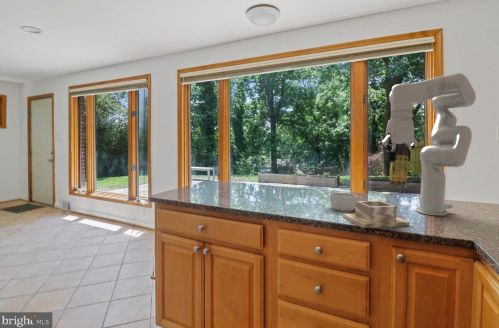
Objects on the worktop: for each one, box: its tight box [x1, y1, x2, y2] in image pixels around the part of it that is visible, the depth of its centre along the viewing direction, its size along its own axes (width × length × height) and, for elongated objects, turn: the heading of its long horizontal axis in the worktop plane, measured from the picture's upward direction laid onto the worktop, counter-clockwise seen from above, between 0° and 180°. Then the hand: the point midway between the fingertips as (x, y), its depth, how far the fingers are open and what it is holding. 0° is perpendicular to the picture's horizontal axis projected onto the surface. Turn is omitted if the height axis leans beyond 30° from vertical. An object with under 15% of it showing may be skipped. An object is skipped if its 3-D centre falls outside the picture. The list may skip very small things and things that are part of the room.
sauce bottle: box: [389, 143, 409, 186], centre depth 114 cm, size 7×6×20 cm
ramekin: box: [329, 192, 358, 212], centre depth 143 cm, size 13×13×7 cm
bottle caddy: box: [343, 200, 411, 229], centre depth 120 cm, size 20×16×8 cm
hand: (399, 161), depth 114 cm, fingers closed on sauce bottle, 6 cm apart
